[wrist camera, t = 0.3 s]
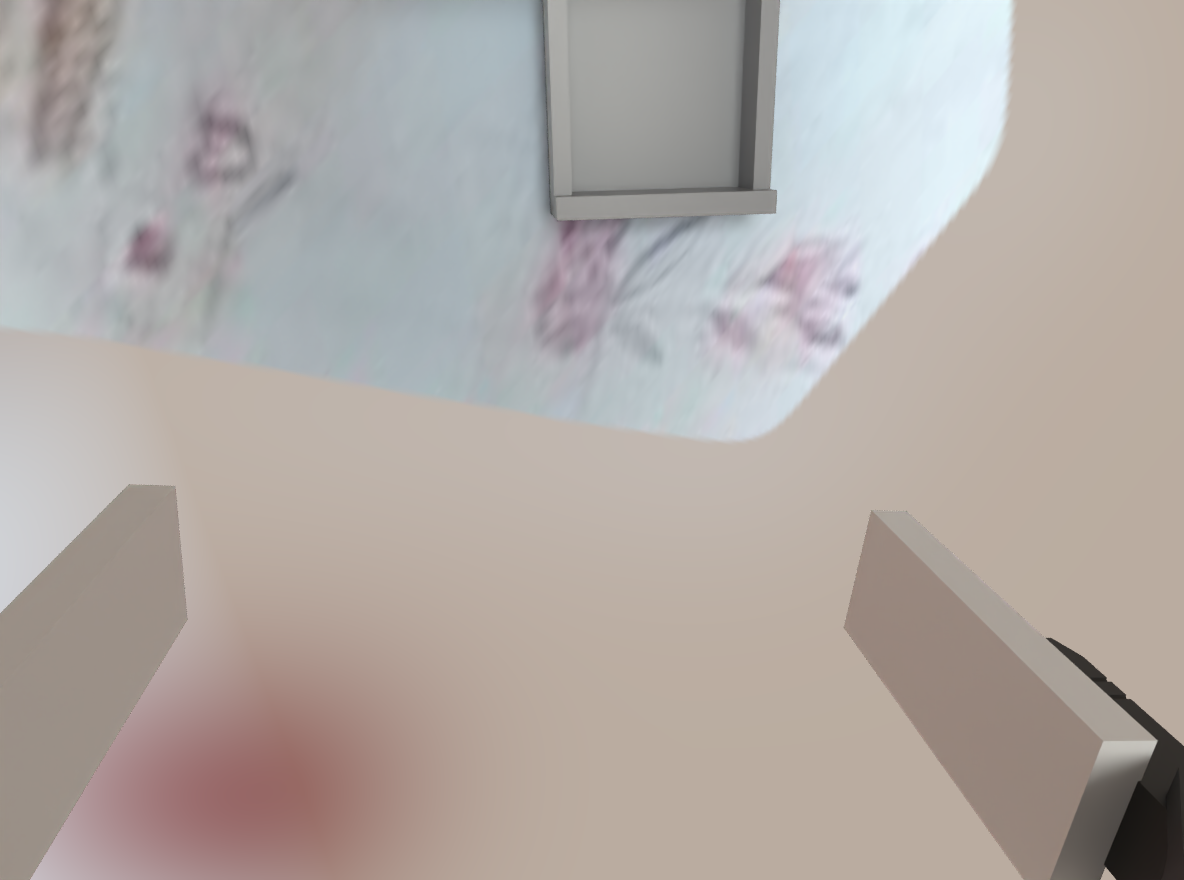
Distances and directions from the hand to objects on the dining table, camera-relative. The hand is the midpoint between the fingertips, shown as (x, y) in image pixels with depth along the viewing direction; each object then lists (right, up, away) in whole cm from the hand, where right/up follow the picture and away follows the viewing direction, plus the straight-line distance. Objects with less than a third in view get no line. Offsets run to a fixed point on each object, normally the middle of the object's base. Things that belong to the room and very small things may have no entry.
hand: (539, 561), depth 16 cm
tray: (+4, +20, +23) cm, 30 cm away
